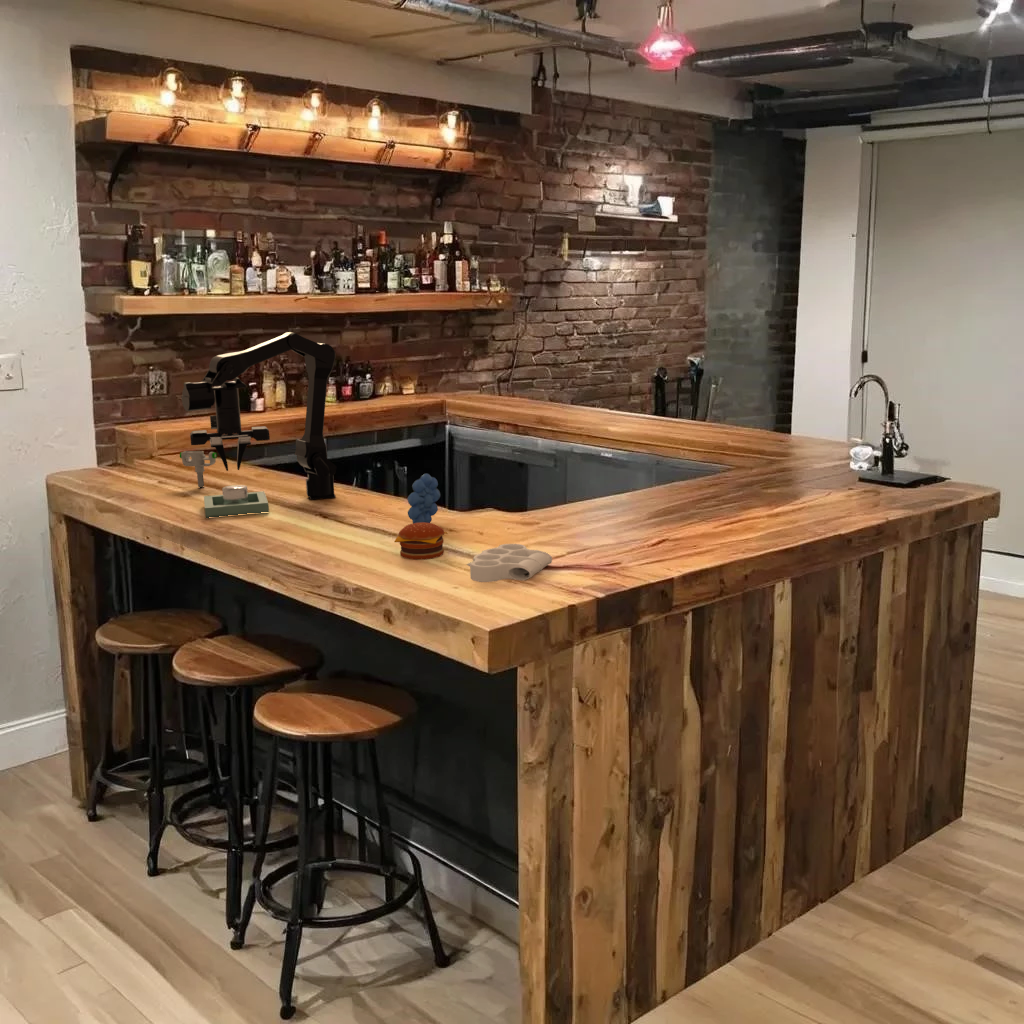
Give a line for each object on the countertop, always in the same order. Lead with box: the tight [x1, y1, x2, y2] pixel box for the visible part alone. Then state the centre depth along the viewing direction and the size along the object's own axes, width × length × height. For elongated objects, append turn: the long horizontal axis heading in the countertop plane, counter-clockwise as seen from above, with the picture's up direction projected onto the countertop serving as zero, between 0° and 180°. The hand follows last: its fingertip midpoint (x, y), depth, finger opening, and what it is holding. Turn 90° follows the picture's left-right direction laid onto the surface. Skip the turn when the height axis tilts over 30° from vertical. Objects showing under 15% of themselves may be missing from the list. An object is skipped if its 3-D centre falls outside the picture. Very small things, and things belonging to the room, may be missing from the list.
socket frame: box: [203, 490, 270, 519], centre depth 281 cm, size 15×15×3 cm
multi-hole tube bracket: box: [465, 543, 553, 583], centre depth 220 cm, size 3×18×15 cm
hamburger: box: [393, 522, 449, 561], centre depth 233 cm, size 9×10×7 cm
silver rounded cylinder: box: [221, 484, 249, 505], centre depth 281 cm, size 6×6×5 cm
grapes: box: [407, 473, 441, 524], centre depth 257 cm, size 12×7×12 cm, turn 151°
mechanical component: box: [179, 450, 218, 488], centre depth 309 cm, size 3×10×10 cm, turn 79°
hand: (232, 470), depth 279 cm, fingers open, 2 cm apart
